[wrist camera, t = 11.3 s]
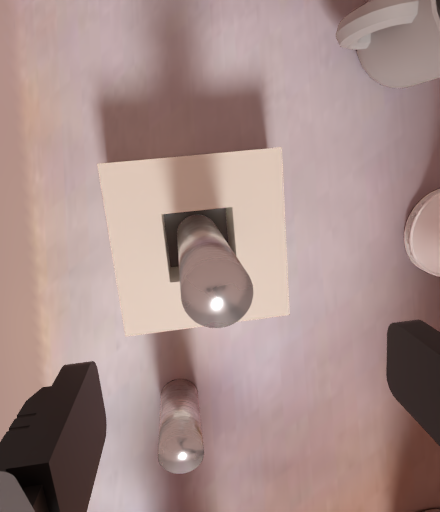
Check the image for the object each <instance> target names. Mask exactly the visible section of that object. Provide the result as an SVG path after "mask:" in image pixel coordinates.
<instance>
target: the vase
mask: <svg viewBox="0 0 440 512" xmlns="http://www.w3.org/2000/svg"><path fill="white" fill-rule="evenodd" d="M404 245H405V249H406V252H407V255H408V257H409V258H410V260H411V261H412V262H413V264H414V265H415V266H417V267H418V268H419V269H421V270H423V271H425V272H427V273H429V274H432V275H435V276H439V277H440V189H437V190H435V191H433V192H431V193H429V194H428V195H426V196H425V197H424V198H423V199H421V200H420V201H419V202H418V203H417V205H416V206H415V207H414V209H413V210H412V212H411V213H410V215H409V217H408V220H407V222H406V226H405V231H404Z"/></svg>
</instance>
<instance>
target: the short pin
mask: <svg viewBox="0 0 440 512" xmlns="http://www.w3.org/2000/svg"><path fill="white" fill-rule="evenodd" d="M203 457H204V447H203V438H202V428H201V419H200V409H199V400H198V391H197V388H196V387H195V385H194V384H193V383H191V382H190V381H188V380H185V379H176V380H173V381H170V382H169V383H167V384H166V385H165V386H164V388H163V390H162V392H161V404H160V423H159V442H158V460H159V463H160V465H161V466H162V467H163V468H164V469H165V470H167V471H168V472H171V473H175V474H184V473H188V472H190V471H192V470H194V469H195V468H197V467H198V466H199V465H200V463H201V462H202V460H203Z"/></svg>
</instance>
